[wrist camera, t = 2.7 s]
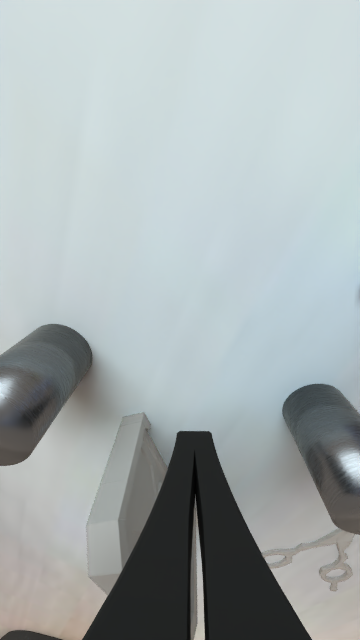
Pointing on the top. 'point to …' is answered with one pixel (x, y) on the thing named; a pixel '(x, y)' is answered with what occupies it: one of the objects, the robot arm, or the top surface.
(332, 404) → the post
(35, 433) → the post
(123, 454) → the light switch
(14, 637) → the media streaming box
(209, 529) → the robot arm
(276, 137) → the top surface
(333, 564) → the scissors
